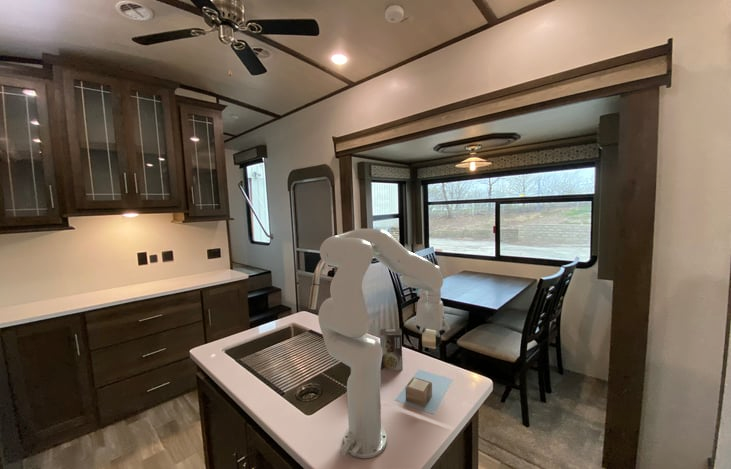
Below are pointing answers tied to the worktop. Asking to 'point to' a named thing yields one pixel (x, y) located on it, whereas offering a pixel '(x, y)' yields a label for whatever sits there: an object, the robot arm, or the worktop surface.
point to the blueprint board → (436, 390)
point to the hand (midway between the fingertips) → (430, 343)
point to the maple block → (429, 338)
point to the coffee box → (391, 349)
